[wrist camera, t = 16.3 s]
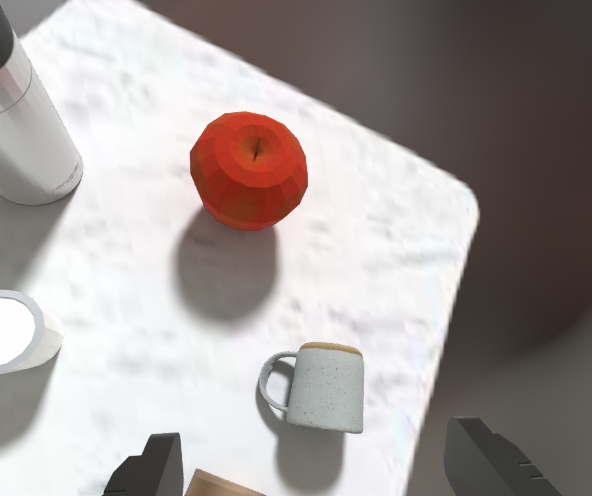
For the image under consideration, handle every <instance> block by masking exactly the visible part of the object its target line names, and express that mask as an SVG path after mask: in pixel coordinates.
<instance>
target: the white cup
mask: <svg viewBox="0 0 592 496" xmlns="http://www.w3.org/2000/svg"><path fill="white" fill-rule="evenodd" d="M63 338H64V330H63V325H62V323H61V322H60V321H59V319H58V318H57V317H56V316H55V315H54V314H53V313H51V312H50V311H49V310H47V309H46V308H45V307H43V306H42V305H41V304H39V303H38V302H37V301H36V300H34V299H33V298H31V297H29V296H27V295H25V294H23V293H21V292H19V291H12V290H2V289H0V374H3V373H9V372H14V371H19V370H24V369H29V368H32V367H36V366H39V365H42V364H44V363H45V362H47V361H48V360H50V359H51V358H53V357H54V356H55V354H56V353H57V352H58V350H59V349H60V347H61V346H62V342H63Z"/></svg>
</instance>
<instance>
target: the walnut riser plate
mask: <svg viewBox="0 0 592 496" xmlns="http://www.w3.org/2000/svg"><path fill="white" fill-rule="evenodd" d="M185 496H266V495H263V494H261V493H258V492H256V491H253V490H250V489H248V488H245V487H243V486H240V485H238V484H235V483H233V482H230V481H228V480H225V479H222V478H220V477H217V476H215V475H212V474H210V473H207V472H205V471H202V470H199V469H197V468H196V471H195V473H194V475H193V478H192V480H191V482H190V484H189V487H188V489H187V491H186V494H185Z"/></svg>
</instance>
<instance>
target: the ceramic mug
mask: <svg viewBox="0 0 592 496" xmlns="http://www.w3.org/2000/svg"><path fill="white" fill-rule="evenodd" d="M285 357H296V364H295V370H294V378H293V383H292V387H291V393H290V398H289V404H288V407H283V406H281V405H279V404H277V403H276V402H274V401H273V400H272V399H271V398H270V397H269V396H268V394H267V392H266V384H267V380H268V376H269V373H270V371H271V370H272V369H273V365H272V364H273V363H274V362H275V361H276V360H278V359H280V358H285ZM259 388H260V392H261V394H262V396H263V397H264V399H265V400H266V401H267V402H268V403H269V404H270V405H271V406H273V407H274V408H276V409H279V410H281V411H284V412H286V414H287V416H286V421H287V422H288V423H291V424H295V425H300V426H306V427H311V428H317V429H324V430H331V431H339V432H347V433H353V434H361V433H362V431H363V396H364V363H363V357H362V354H361V353H360V352H359V351H358V350H357V349H355V348H353V347H349V346H345V345H341V344H333V343H323V342H310V343H306V344H304V345H303V346H301V348H300V350H299V352H297V353H296V352H289V351H288V352H281V353H277V354H275V355H273V356H272V357H270V358H269V359H268V360H267V361H266V362H265V364H264V366H263V367H262V370H261V373H260V377H259Z"/></svg>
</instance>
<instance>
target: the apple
mask: <svg viewBox="0 0 592 496" xmlns="http://www.w3.org/2000/svg"><path fill="white" fill-rule="evenodd" d="M190 173H191V176H192V178H193V181H194V183H195V186H196V188H197V191H198V193H199V195H200V197H201V200H202V202H203V204H204V206H205V207H206V208H207V210H208V211H209V212H210V213H211V214H212V215H213V216H214V217H215V219H216V220H217V221H219V222H221V223H224V224H226V225H228V226H230V227H232V228H233V229H238V230H251V231H257V230H260V229H263V228H266V227H269V226H272V225H274V224H276V223H277V222H279V221H280V220H282V219H283V218H285V217H286V216H287V215H288V214H289V213H290V212H291V211H292V210H294V209H295V208H296V207H297V206H298V205H299V204H300V202H301V200H302V198H303V196H304V193H305V191H306V189H307V187H308V173H307V165H306V156H305V154H304V152H303V150H302V147H301V145H300V143H299V141H298V139H297V138H296V137H295V136H294V135H293V134H292V132H291V131H290V130H289V129H288V128H287V127H286V126H285V125H284V124H282V123H280V122H278V121H276V120H274V119H272V118H270V117H268V116H265V115H260V114H256V113H251V112H246V111H244V112H234V113H225V114H223V115H222V116H220V117H219V118H217V119H216V120H214V121H212V122H211V123H209V124H208V125H207V127H206V128H205V130H204V131H203V133H202V134H201V136H200V137H199V139H198V140H197V142H196V143H195V145H194V146H193V148H192V149H191V151H190Z"/></svg>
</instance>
